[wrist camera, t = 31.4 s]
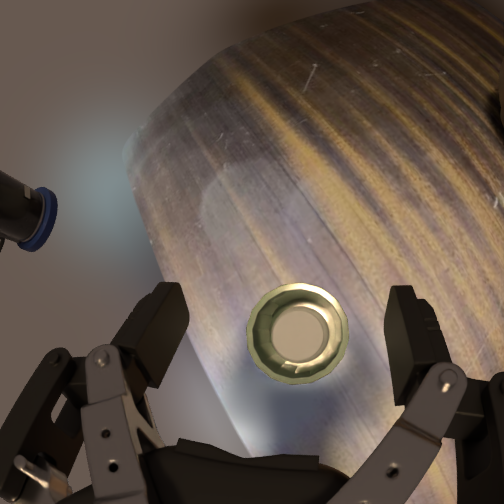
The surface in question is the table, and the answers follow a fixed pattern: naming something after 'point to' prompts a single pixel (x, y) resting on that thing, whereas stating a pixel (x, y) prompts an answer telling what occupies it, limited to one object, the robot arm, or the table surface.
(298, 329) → the pill bottle
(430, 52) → the table surface
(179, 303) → the robot arm
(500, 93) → the planter bowl
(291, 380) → the cup
